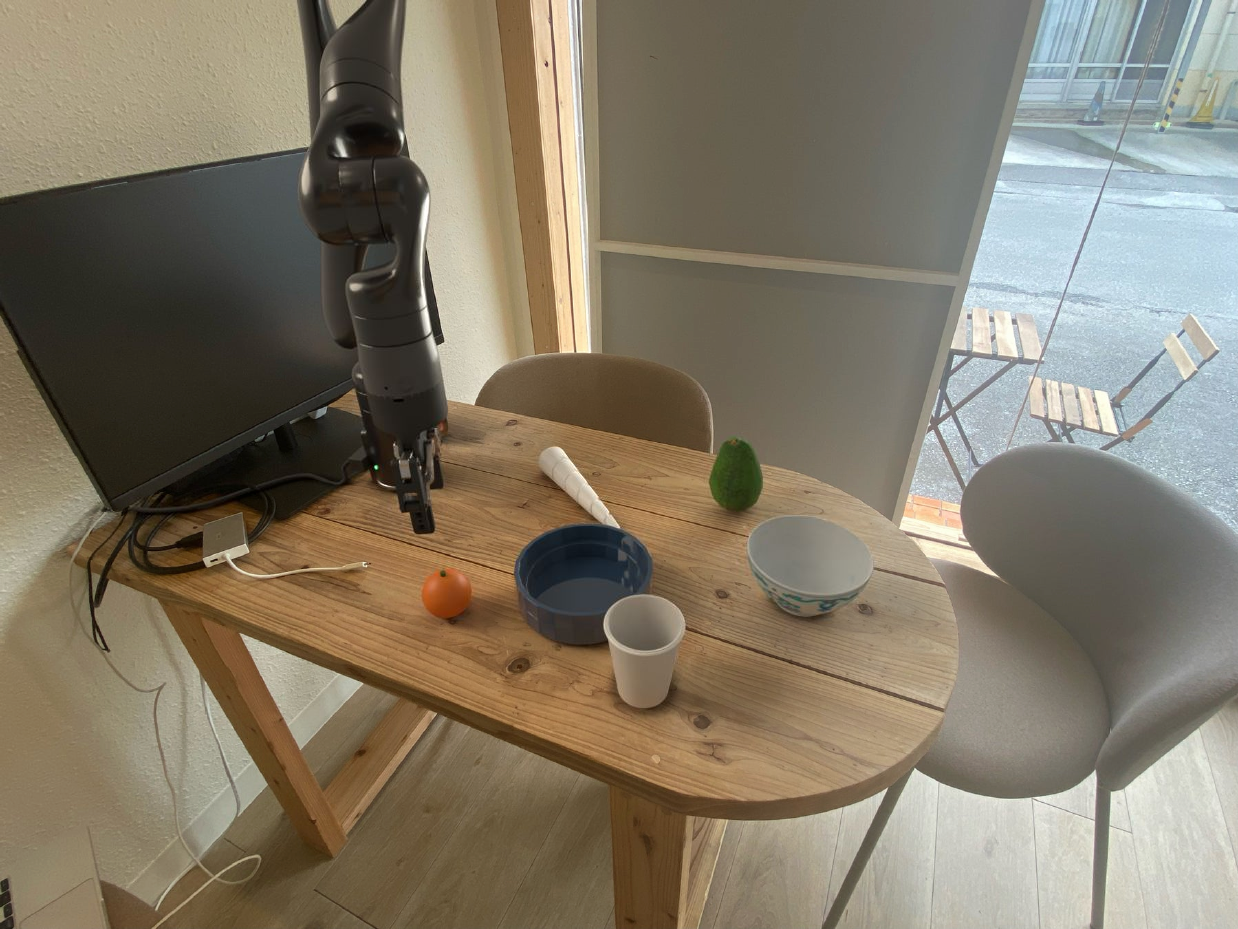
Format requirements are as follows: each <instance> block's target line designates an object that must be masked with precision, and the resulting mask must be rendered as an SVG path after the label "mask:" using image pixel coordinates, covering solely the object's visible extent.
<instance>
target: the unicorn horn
mask: <svg viewBox="0 0 1238 929" xmlns="http://www.w3.org/2000/svg"><path fill="white" fill-rule="evenodd" d="M537 463H538V464H537V465H538V467H539V469H540V471H541V472H543V473H544V474H545V475H546V476H547V477H548V478H549V479H551V481H553V482H554V483H555V484H556V485H557V486H558V487H559V488H561V490H563V491H564V492H565V493H566V494H567V495H569V497H570V498H572V499H573V500H574V501H575V502H576V503H577V504H578V505H580V506H581V507H582V508H583V509H584V510H585V511H586V512H588V513H589V514H590V515H591V516H592V517H593V518H595V519H596V520H597V521H598V522H599V523H600V524H603V525H610V526H613V527H616V528H619V529H621V526H620V525H619V524H618V522H617V521H616V519H615V518H614V516H613V515H612V514H610V511H609V509H608V508H607V507H606V506H605V504H604V503H603V502H602V500H601V499H600V498H599V496H598V494H597V493H596V492H595V490H594V489H593V488H592V486H591V485H589V483H588V481H587V480H586V478H585V477H584V476H583V475H582V473H581V472H580V471H579V470H578V468H577V467H576V465H575V464H574V463H573V462H572V461H571V459H570V458H569V456H568V455H567V454H566V452H565V451H564V450H563V449H562V448H561V447H560V446H550V447H547V448H546V449H544V450H543V451H542V452H541V453H540V454H539V457H538V460H537Z"/></svg>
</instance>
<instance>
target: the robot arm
mask: <svg viewBox="0 0 1238 929" xmlns="http://www.w3.org/2000/svg"><path fill="white" fill-rule="evenodd" d="M296 6H297V12H298V19H299V20H298V21H299V25H300V26H299V27H300V32H301V33H300V34H301V40H302V47H303V56H304V64H305V65H304V66H305V73H306V74H305V76H306V90H307V104H308V119H309V120H308V121H309V136H310V144H309V146H308V149H307V150H306V152H305V156H304V158H303V161H302V165H301V168H300V171H299V176H298V183H297V202H298V207H299V211H300V214H301V217H302V219H303V221H304V223H305V225H306V226H307V228H308V229H309V231H310V232H311V233H312V234H313V235H314V236H315V237H316V238H317V239H318V240H319V241H320V303H321V312H322V317H323V322H324V324H325V327H326V330H327V331H328V334H329V335H330V337H331V339H332V340H333V341H334V342H335V343H336V345H338V346H339V347H340V348H343V349H345V350H357V358H358V361H357V362H356V363H355V364H354V365H353V367H352V369H351V379H352V380H351V381H352V384H353V388H354V391H355V396H356V398H357V403H358V404H357V405H358V407H359V410H360V416H361V420H362V423H363V427H364V428H363V429H362V430H361V431H360V438H361V439H360V440H361V442H362V446H360V447H359V448H358V449H357V450H356V451H355V452H354V453H353V454H352V455H350V456H349V457H348V458H347V460H346V461H344V463H342V465H341V469H340V470H341V474H342V478H343V479H341V480H340V481H337V482H336V481H332V480H329V479H327V478H325V477H322V476H320V475H317V474H315V473H308V472H307V473H296V474H291V475H285V476H283V477H279V478H275V479H272V480H269V481H265V482H263V483H260V484H257V485H255V486H256V487H258V488H259V489H258V490H262V489H264V488H267V487H270V486H273V485H276V484H280V483H283V482H286V481H291V480H295V479H296V480H297V479H305V478H306V479H313V480H315V481H319V482H322V483H327V484H333V485H335V486H344V485H345V484H346V483H347V482H348V481H349V475H348V472H347V468H348V466H349V468H350V471H355V472H362V473H366V471H369V474H370V478H371V481H372V483H374V484H377V485H378V486H379V487H380V488H382V489H383V490H386V491H389V492H396V496H397V501H398V506H399V508H398V509H399V511H400V514H407V513H409V517H410V518H409V519H410V521H411V526H412V530H413V533H414V534H415V535H431V534H434V533H435V531H436V522H435V521H436V520H435V517H434V511H433V507H432V498H431V490H441V489H443V488H444V487H445V486H444V485H445V479H444V474H443V468H442V462H441V457H442V456H443V453H442V451H441V449H442V448H441V447H442V445H443V438H442V436H441V434H440V429H439V424H441V423H442V422H443V421H444V420H445V418H447V417H448V415H449V406H448V400H447V394H446V389H445V384H444V375H443V370H442V365H441V358H440V353H439V348H438V346H437V343H436V338H435V336H434V332H433V328H432V323H431V316H430V311H429V306H428V299H427V292H426V281H425V280H426V279H425V278H426V277H425V276H426V275H425V262H426V248H427V242H428V241H427V240H428V233H429V227H430V226H429V225H430V219H431V218H430V216H431V207H432V206H431V205H432V197H431V196H432V195H431V189H430V185H429V183H428V180H427V177H426V175H425V173H424V172H423V171H422V169H421V168H420V167H419V165H418V164H417V163H416V162H415V161H413V160H412V159H411V158H409V157H407V156H405V155H400V153H401V151H402V149H403V147H404V144H405V137H406V132H405V131H406V130H405V128H406V127H405V113H404V102H403V101H404V100H403V98H404V97H403V88H402V87H403V86H402V60H403V49H404V48H403V47H404V40H405V39H404V38H405V31H406V17H407V0H365V1H364V2H363V4H362V5H360V7H359V8H358V9H357V10H355V12H354V13H352V14H351V15H350V16H349V17H348V18H347V19H346V20H345V21H344V22H343V23H342V24H341V25H340V27H337V24H336V22H335V18H334V14H333V12H332V8H331V5H330V1H329V0H296ZM383 244H393V245H395V251H396V252H395V256H394V257H393V258H392V259H391V260H389V261H388V262H385V263H383V264H379V265H376V266H373V267H370V268H366V269H364V266H365V261H366V256H367V255H368V254H367V253H368V250H369V248H370V246H371V245H383ZM250 492H255V491H254V490H252V489H250V487H246V488H244V489H241V490H239V491H238V490H237V491H235V492H231V493H229V494H227V495H224V496H222V497H218V498H215V499H212V500H209V501H208V500H207V501H203V502H200V503H195V504H190V505H183V506H173V507H150V508H149V507H141V506H138V505H137V506H136V505H133V506H134V507H132V508H131V509H128V510H129V511H133V512H138V513H144V514H160V513H161V514H163V513H176V512H177V513H178V512H186V511H191V510H197V509H201V508H206V507H209V506H213V505H217V504H220V503H222V502H226V501H228V500H231V499H233V498H237V497H240V496H242V495H245V494H248V493H250ZM412 494H416V495H412ZM108 510H109V509H107V508H106V507H105V505H103V507H102V508H101V510H100V512H101V513H103V512H105V513H106V512H107V511H108Z"/></svg>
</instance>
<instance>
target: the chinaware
mask: <svg viewBox="0 0 1238 929" xmlns="http://www.w3.org/2000/svg"><path fill="white" fill-rule="evenodd" d="M746 554H747V561H748V564H749V567H750V572H751V573H752V576H753V578H754V580H755V582H756V583H757V585H758V587H759V588H760V589H761V591H762V592H763V593H764V594H765V595H766V596H767V597H768V598H769V599H770V600H772V601H773V603H775V604H777V605H778V606H779V607H780V608H781V609H782V610H784V611H785V612H787V613H789V614H791V615H794V616H798V617H803V618H805V617H806V618H807V617H808V618H809V617H814V616H818V615H823V614H828V613H832V612H834V611H837V610H840V609H841V608H842V609H843V608H844V607H845V606H847V605H848V604H850V603H851V602H853V601H854V600H855V599H856V598H857V597H858V596H859V595H860V594H861V593H862V592H863V591H864V589H865V588H866V586H867V585H868V583H869V581H870V580H871V578H872V576H873V572H874V570H875V560H874V556H873V553H872V551H871V549H870V548H869V546H868V545H867V544H866V542H865V541H863V539H862V538H861V537H860V536H858V535H857V534H856V533H855V532H853V531H852V530H850V529H848V528H847V527H845V526H843V525H841V524H838V523H836V522H834V521H832V520H828V519H825V518H821V517H817V516H812V515H803V514H802V515H801V514H789V515H787V514H786V515H781V516H775V517H773V518H770V519H767V520H765V521H763V522H761V523H759V524H758V525H756V526H755V527H754V528H753V529H752V531H751V532H750V534H749V536H748V538H747V541H746Z"/></svg>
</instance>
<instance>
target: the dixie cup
mask: <svg viewBox="0 0 1238 929" xmlns="http://www.w3.org/2000/svg"><path fill="white" fill-rule="evenodd" d="M604 631H605V634H606V636H607V638H608V641H607V642H608V646H609V652H610V656H611V662H612V667H613V671H614V678H615V682H616V688H617V692H618V695H619V696H620V698H621V699H622V701H624V702H625V703H626V704H627V705H629V706H631V707H633V708H637V709H649V708H650V709H651V708H654V707H656V706H659V705H661V703H663V701H665V700H666V698H667V696H668V695H669V689H670V686H671V682H672V678H673V673H674V669H675V664H676V661H677V656H678V653H679V649H680V645H681V641H682V640H683V638H684V635H685V632H686V621H685V617H684V615H683V613H682V611H681V610H680V609H679V608H678V607H677V606H676V605H675V604H674V603H672V602H671V601H669V600H668V599H666V598H663V597H660V596H658V595H654V594H653V595H633V596H629V597H626V598H623V599H621V600H619V601H618V602H616V603H615V604H614V605H612V606H611V608H610V609H609V610H608V611H607V613H606V615H605V618H604Z"/></svg>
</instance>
